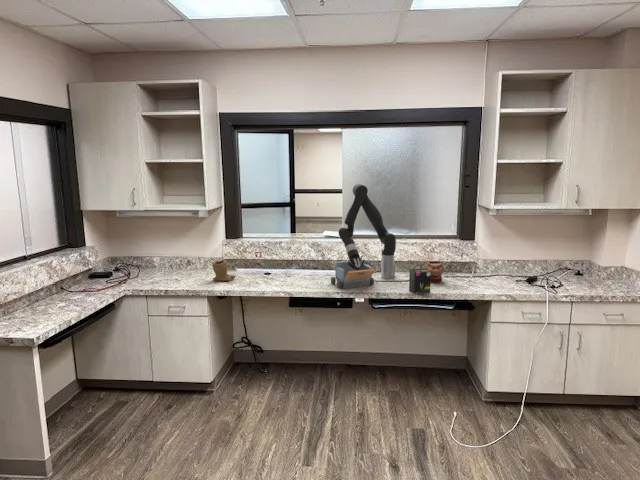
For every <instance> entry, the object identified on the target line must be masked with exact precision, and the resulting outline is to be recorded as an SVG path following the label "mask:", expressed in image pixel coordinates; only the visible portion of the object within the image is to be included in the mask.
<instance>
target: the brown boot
mask: <svg viewBox="0 0 640 480" xmlns="http://www.w3.org/2000/svg"><path fill="white" fill-rule="evenodd" d="M211 266H212V269H213V272H214V274H215V277H213V278H212V281H218V282H219V281H220V282H221V281H222V282H225V281H226V282H227V281H230V282H232V281H234V280H235V279H236V275H235V274H234V275H230V274H228V263H227V261H226V260H225V259H220V260H216V261H214V262H213V263H212V265H211Z"/></svg>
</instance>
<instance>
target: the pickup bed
mask: <svg viewBox="0 0 640 480" xmlns="http://www.w3.org/2000/svg"><path fill="white" fill-rule="evenodd" d="M348 261H349V260H345V261H335V262H334V263H335V265H334V266H335V276H332V277H330V284H331V285H335V284H336V287H337V289H343V290H344V289H351V288H352V289H353V288H361V287H368V286H371V285H374V284H375V279H374V277H373V275H372V276H371V278H367V279H358V280H349V281H345V278H346V276H347V274H348V272H349V271H356V269H353V268H352V267H350V266H349V265H348V264H347V263H348ZM360 265H361V261H360ZM367 269H373V267H372V266H370V265H368V264H366V261H365V262H364V264H363V266H362V268H361V270H367Z"/></svg>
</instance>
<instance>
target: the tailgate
mask: <svg viewBox="0 0 640 480" xmlns="http://www.w3.org/2000/svg"><path fill="white" fill-rule="evenodd" d="M374 272H375V269H374V268H372V269H367V270H357V271H349V272H348V274H347V276H346V278H345V281H349V280H358V279H367V278H371V276H372V277H373V274H374Z"/></svg>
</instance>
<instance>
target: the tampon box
mask: <svg viewBox="0 0 640 480" xmlns="http://www.w3.org/2000/svg"><path fill="white" fill-rule="evenodd" d="M408 280H409V281H408V282H409V283H408V284H409V286H408V287H409V288H408V289H409V291H410V292H411V293H413V294H415V295H422V294H430V293H431V285H432V282H431V271H429V270H427V269H426V268H423V267H422V268H410V269H409V279H408Z"/></svg>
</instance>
